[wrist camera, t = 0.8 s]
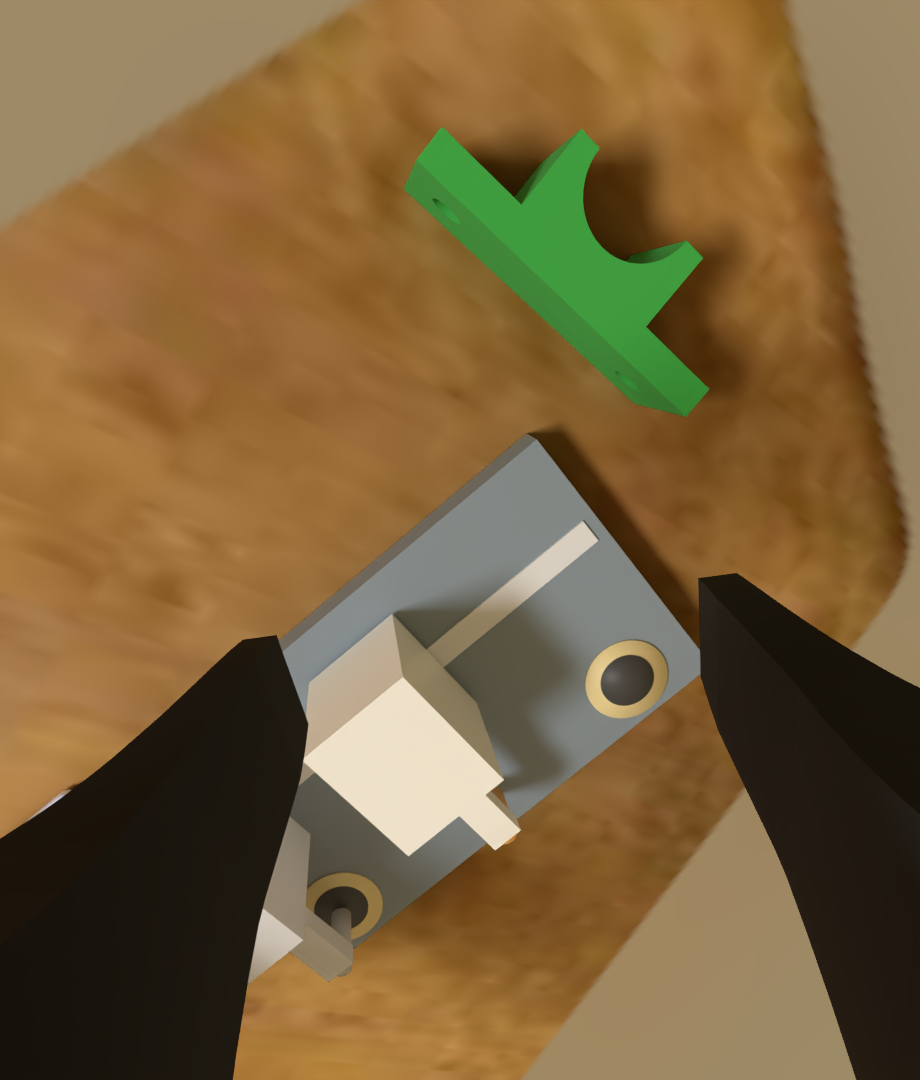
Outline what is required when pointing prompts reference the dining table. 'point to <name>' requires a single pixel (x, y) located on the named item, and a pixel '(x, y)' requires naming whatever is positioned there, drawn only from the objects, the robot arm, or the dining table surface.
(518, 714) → the plate
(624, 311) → the pipe clamp
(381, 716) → the block
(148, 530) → the dining table surface
